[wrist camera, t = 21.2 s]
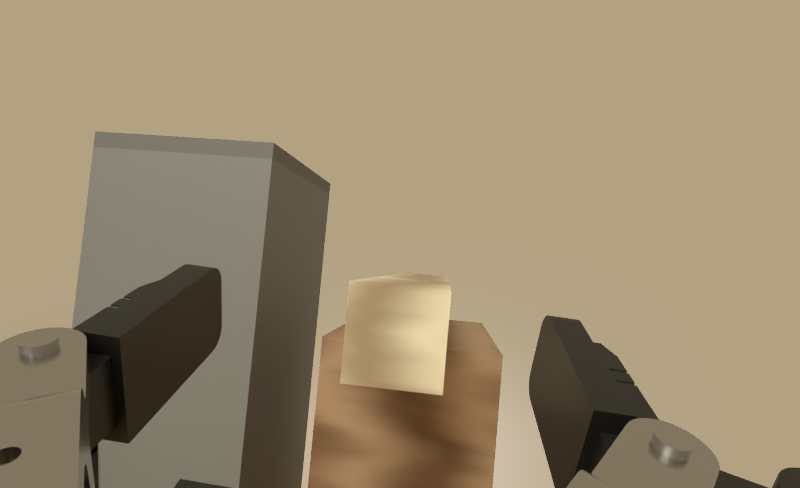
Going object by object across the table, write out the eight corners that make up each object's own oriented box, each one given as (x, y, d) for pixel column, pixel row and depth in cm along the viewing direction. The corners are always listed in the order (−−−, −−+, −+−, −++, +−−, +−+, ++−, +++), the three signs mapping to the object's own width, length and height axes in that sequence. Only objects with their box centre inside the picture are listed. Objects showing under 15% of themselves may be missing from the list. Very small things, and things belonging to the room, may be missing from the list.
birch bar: (339, 383, 16) (349, 280, 16) (403, 314, 39) (406, 273, 39) (442, 395, 15) (451, 290, 16) (445, 319, 38) (448, 276, 38)
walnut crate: (283, 745, 24) (322, 336, 25) (343, 569, 38) (366, 311, 39) (468, 783, 23) (502, 355, 24) (460, 588, 37) (481, 323, 38)
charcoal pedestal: (34, 641, 28) (95, 131, 30) (169, 519, 42) (206, 174, 44) (219, 676, 27) (273, 142, 29) (296, 538, 41) (330, 183, 43)
